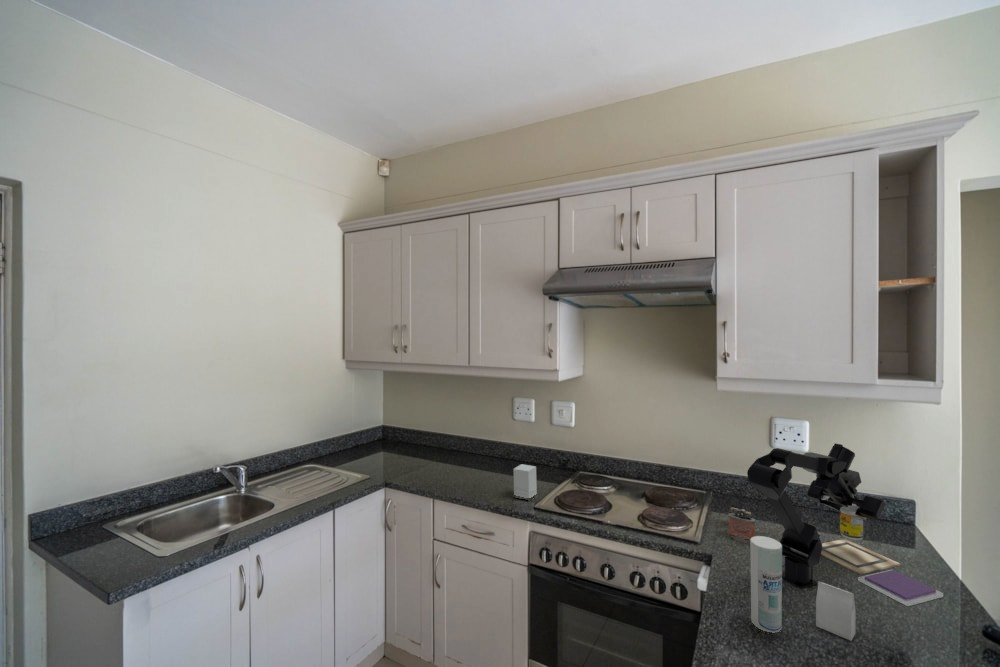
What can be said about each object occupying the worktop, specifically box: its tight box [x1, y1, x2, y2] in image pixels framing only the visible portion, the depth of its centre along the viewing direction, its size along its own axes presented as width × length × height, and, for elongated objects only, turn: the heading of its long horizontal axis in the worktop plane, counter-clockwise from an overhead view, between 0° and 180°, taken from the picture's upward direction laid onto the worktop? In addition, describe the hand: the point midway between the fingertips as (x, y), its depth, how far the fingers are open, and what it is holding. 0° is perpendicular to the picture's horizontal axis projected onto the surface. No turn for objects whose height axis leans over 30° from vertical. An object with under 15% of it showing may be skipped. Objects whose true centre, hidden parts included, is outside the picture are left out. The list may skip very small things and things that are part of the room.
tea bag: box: [815, 581, 856, 642], centre depth 106 cm, size 4×7×10 cm, turn 40°
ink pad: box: [857, 568, 944, 607], centre depth 121 cm, size 13×12×2 cm
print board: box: [821, 538, 901, 576], centre depth 138 cm, size 16×16×1 cm
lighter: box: [728, 507, 756, 544], centre depth 150 cm, size 8×3×10 cm, turn 47°
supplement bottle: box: [839, 504, 864, 541], centre depth 138 cm, size 6×6×10 cm
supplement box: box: [512, 463, 538, 498], centre depth 189 cm, size 7×7×13 cm
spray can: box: [749, 535, 783, 633], centre depth 107 cm, size 6×6×20 cm
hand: (854, 514), depth 138 cm, fingers closed on supplement bottle, 5 cm apart
